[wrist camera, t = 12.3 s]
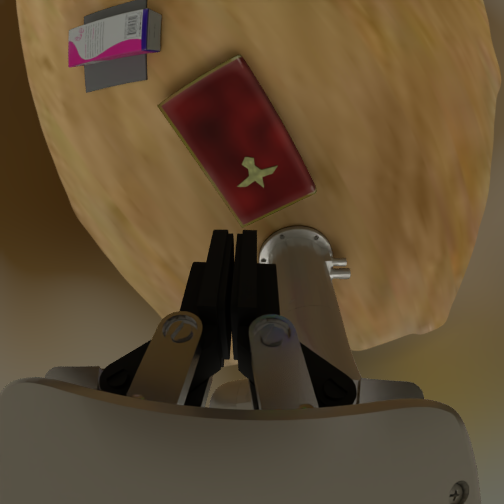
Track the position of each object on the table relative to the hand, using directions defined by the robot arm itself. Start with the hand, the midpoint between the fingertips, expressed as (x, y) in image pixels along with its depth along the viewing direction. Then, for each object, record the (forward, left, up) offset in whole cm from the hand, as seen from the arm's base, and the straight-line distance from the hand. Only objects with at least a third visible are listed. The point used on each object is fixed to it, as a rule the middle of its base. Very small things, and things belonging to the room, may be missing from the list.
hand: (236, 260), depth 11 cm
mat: (+19, -14, -29) cm, 37 cm away
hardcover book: (+1, +2, -30) cm, 30 cm away
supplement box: (+11, -14, -26) cm, 31 cm away
